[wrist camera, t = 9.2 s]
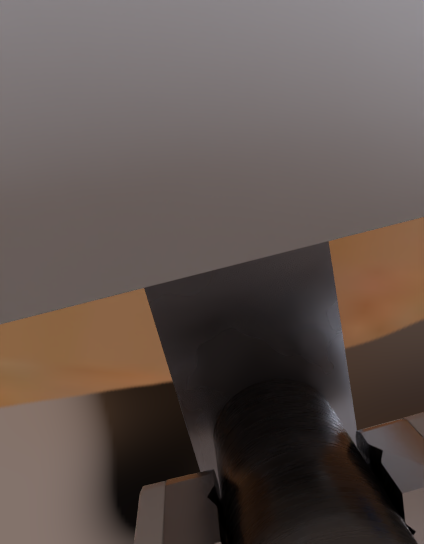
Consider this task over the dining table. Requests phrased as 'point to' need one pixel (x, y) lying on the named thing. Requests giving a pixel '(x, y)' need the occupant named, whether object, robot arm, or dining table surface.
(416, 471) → the robot arm
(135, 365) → the dining table surface
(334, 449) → the shaft
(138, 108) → the block
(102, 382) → the dining table surface
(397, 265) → the dining table surface
